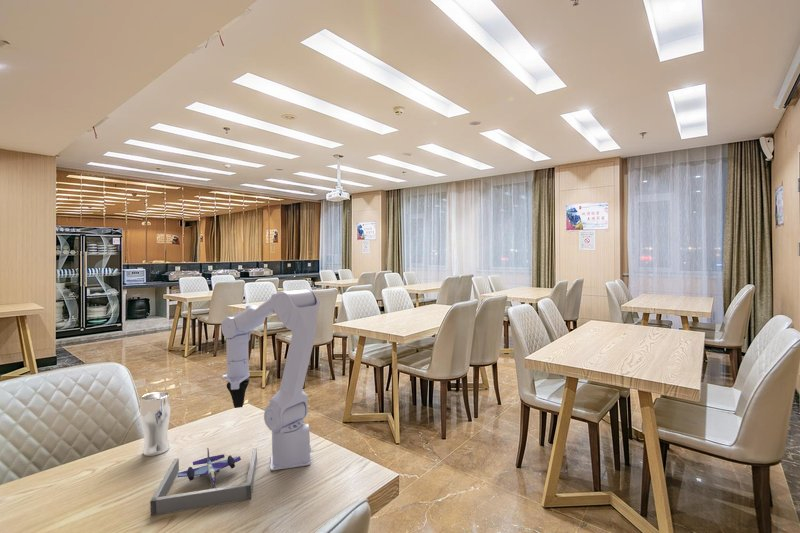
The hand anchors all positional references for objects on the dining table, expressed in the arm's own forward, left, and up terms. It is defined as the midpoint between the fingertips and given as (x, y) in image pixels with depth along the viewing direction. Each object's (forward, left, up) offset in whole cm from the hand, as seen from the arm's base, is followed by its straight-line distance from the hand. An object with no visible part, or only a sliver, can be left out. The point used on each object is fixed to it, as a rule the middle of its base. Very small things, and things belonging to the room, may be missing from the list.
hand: (238, 406), depth 111 cm
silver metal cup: (+21, -1, -10) cm, 23 cm away
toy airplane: (+4, +19, -10) cm, 22 cm away
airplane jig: (+4, +21, -10) cm, 23 cm away
